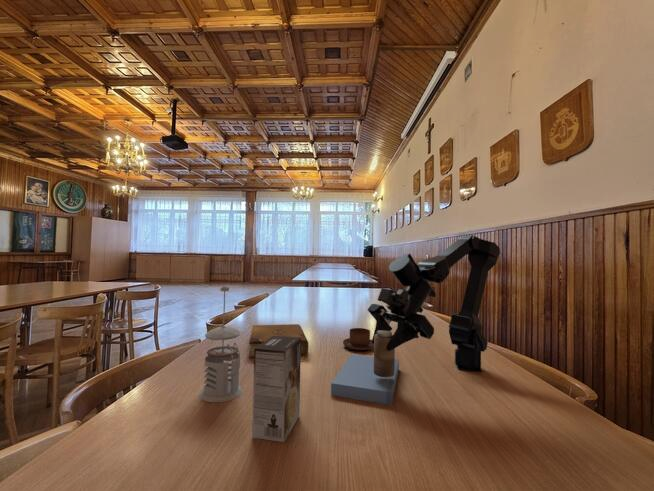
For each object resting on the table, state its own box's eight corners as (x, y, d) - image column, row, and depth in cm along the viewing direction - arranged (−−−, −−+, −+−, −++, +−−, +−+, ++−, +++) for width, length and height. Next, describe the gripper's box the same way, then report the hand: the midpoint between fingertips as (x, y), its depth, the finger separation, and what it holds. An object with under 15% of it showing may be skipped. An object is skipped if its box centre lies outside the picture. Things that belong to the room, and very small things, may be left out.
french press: (231, 379, 78) (234, 283, 79) (254, 395, 70) (257, 287, 70) (192, 391, 71) (195, 285, 72) (213, 410, 63) (217, 290, 63)
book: (398, 370, 88) (398, 359, 88) (391, 406, 66) (392, 392, 67) (351, 364, 92) (351, 354, 92) (330, 396, 71) (331, 383, 71)
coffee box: (270, 412, 62) (272, 334, 63) (300, 416, 61) (302, 336, 62) (250, 438, 53) (253, 347, 54) (284, 443, 52) (287, 350, 53)
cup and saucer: (344, 341, 115) (344, 325, 115) (375, 343, 113) (376, 327, 113) (341, 351, 103) (341, 333, 103) (376, 354, 101) (377, 335, 101)
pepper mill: (397, 372, 74) (398, 331, 74) (389, 379, 70) (389, 335, 70) (379, 367, 77) (379, 328, 77) (370, 373, 73) (370, 332, 73)
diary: (308, 357, 97) (308, 339, 97) (248, 360, 94) (249, 341, 94) (300, 338, 120) (300, 323, 120) (252, 339, 116) (252, 324, 116)
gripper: (373, 274, 84) (339, 317, 78) (425, 280, 68) (388, 335, 62) (394, 301, 88) (363, 344, 82) (448, 312, 72) (415, 366, 66)
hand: (379, 346), depth 73 cm, fingers closed on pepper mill, 5 cm apart
